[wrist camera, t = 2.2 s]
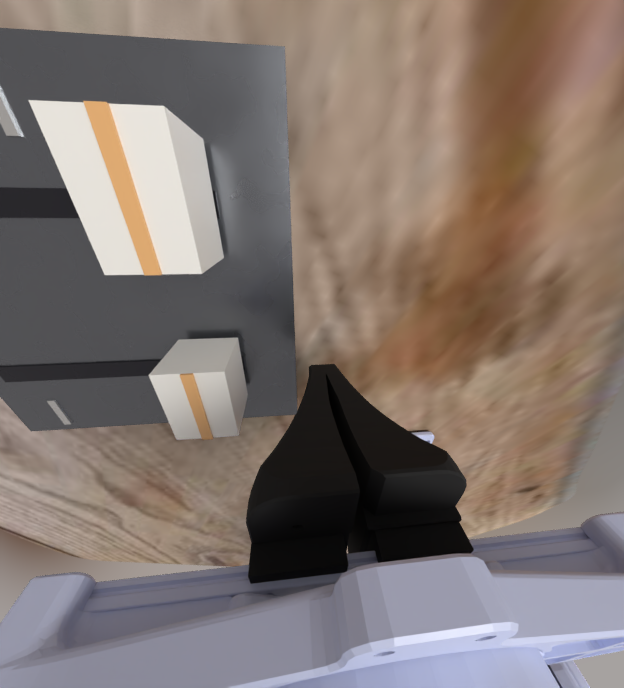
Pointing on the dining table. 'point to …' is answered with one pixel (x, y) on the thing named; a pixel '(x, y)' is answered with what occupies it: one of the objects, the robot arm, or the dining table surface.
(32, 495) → the dining table surface
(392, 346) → the dining table surface
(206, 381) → the fader far
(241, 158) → the fader console
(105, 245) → the fader near
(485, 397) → the dining table surface
